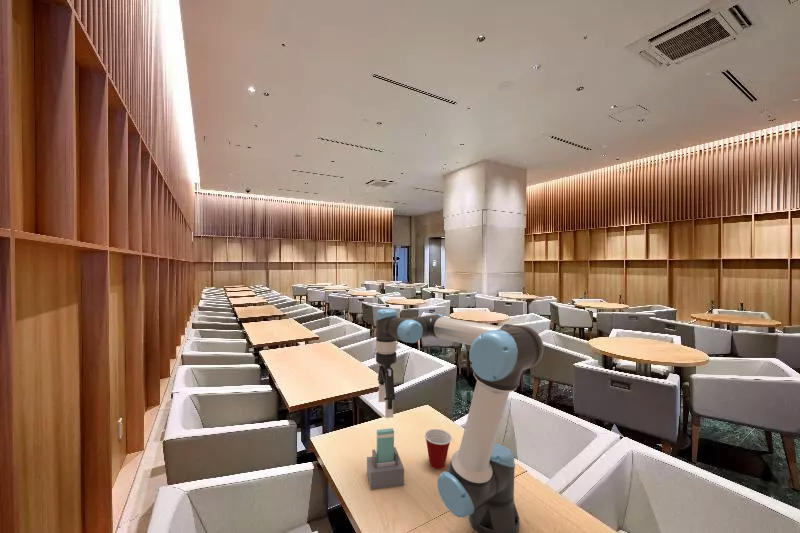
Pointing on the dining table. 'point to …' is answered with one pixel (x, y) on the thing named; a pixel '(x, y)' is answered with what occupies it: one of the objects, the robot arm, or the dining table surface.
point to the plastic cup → (437, 447)
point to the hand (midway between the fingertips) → (385, 409)
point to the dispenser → (385, 472)
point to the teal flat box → (385, 445)
